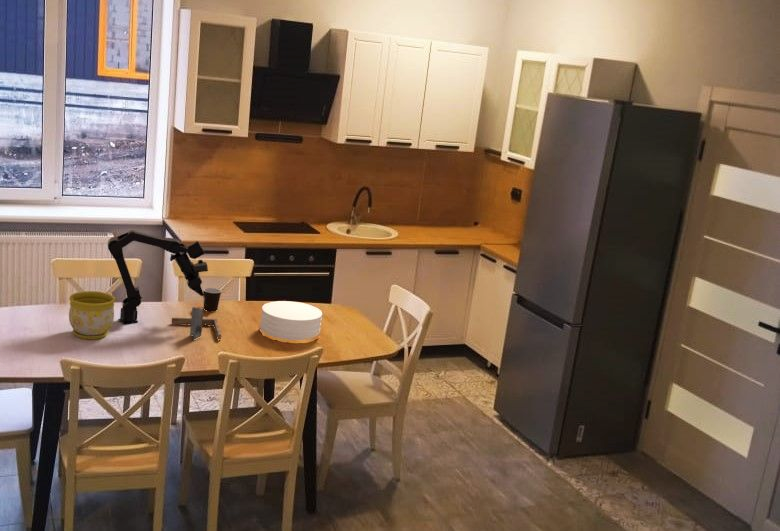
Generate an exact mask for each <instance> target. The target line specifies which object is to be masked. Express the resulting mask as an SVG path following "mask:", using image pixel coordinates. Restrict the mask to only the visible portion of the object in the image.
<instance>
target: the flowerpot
mask: <svg viewBox="0 0 780 531" xmlns="http://www.w3.org/2000/svg"><path fill="white" fill-rule="evenodd" d="M68 299H69V301H70V303H69V306H70V307H69V311H68V321H69V325H70V326H71V328H72V333H73V334H74V335H75V336H76V338H79V339H84V340H99V339H102V338H105V337H107V335H108V334H109V332H110V330H109V329H110V328H111V327H112V325H113V323H114V319H115V308H114V306H115V302H116V297H115V296H114V295H112V294H110V293H106V292H102V291H95V290H94V291H91V290H90V291H88V290H87V291H79V292H75V293H73V294H71V295H70V296H69V298H68Z"/></svg>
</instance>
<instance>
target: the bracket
mask: <svg viewBox="0 0 780 531" xmlns="http://www.w3.org/2000/svg"><path fill="white" fill-rule="evenodd" d="M190 318H191V325H190V331H189V336H190V335H193V336H192V340H193V339H196V338H198V337H200V336H201V337H202V331H203V326H202V320H203V319H204V309H202V308H198V307H196V306H195V307H192V308H191V317H190Z"/></svg>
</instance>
